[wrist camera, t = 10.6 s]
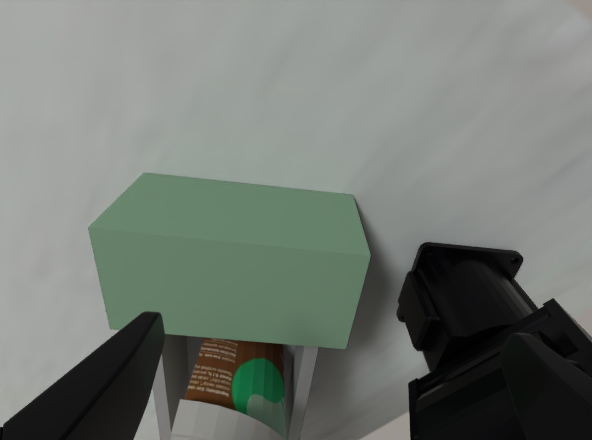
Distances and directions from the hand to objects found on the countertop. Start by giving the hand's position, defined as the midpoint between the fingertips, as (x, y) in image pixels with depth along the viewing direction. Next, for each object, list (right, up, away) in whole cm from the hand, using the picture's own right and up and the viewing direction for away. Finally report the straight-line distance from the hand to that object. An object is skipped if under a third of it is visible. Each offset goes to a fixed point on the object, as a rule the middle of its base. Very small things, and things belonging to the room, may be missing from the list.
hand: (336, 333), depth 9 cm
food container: (-4, -7, +17) cm, 19 cm away
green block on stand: (-5, -4, +16) cm, 17 cm away
